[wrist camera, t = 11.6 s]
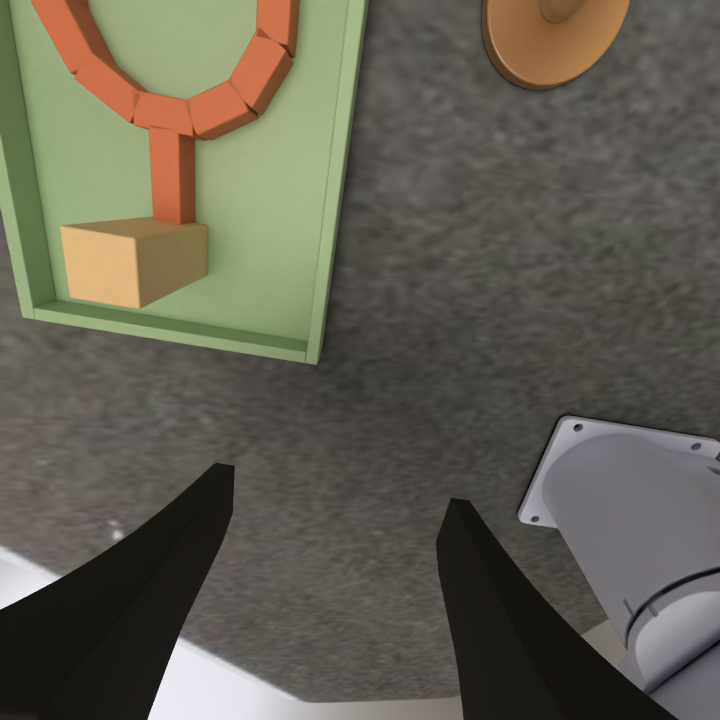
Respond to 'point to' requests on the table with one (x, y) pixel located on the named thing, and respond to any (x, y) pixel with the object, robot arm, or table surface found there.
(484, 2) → the peg stand
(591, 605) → the table surface
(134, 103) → the ring
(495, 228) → the table surface
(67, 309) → the tray
